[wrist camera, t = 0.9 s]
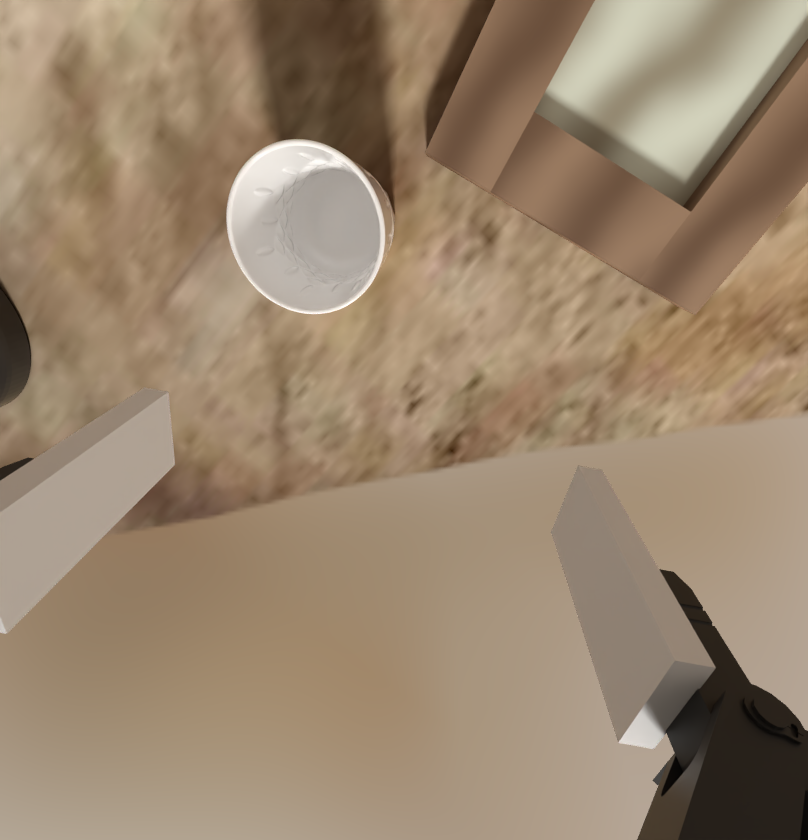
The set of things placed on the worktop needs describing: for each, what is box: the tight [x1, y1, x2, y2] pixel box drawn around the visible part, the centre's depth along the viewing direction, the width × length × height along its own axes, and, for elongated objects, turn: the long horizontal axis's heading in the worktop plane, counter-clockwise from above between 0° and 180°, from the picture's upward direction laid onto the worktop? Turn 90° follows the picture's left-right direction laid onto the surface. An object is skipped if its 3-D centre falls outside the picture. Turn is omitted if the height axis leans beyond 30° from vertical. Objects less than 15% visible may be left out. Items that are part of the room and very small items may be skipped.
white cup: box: [227, 139, 395, 314], centre depth 26 cm, size 8×8×10 cm
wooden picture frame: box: [425, 0, 808, 315], centre depth 24 cm, size 20×20×2 cm
